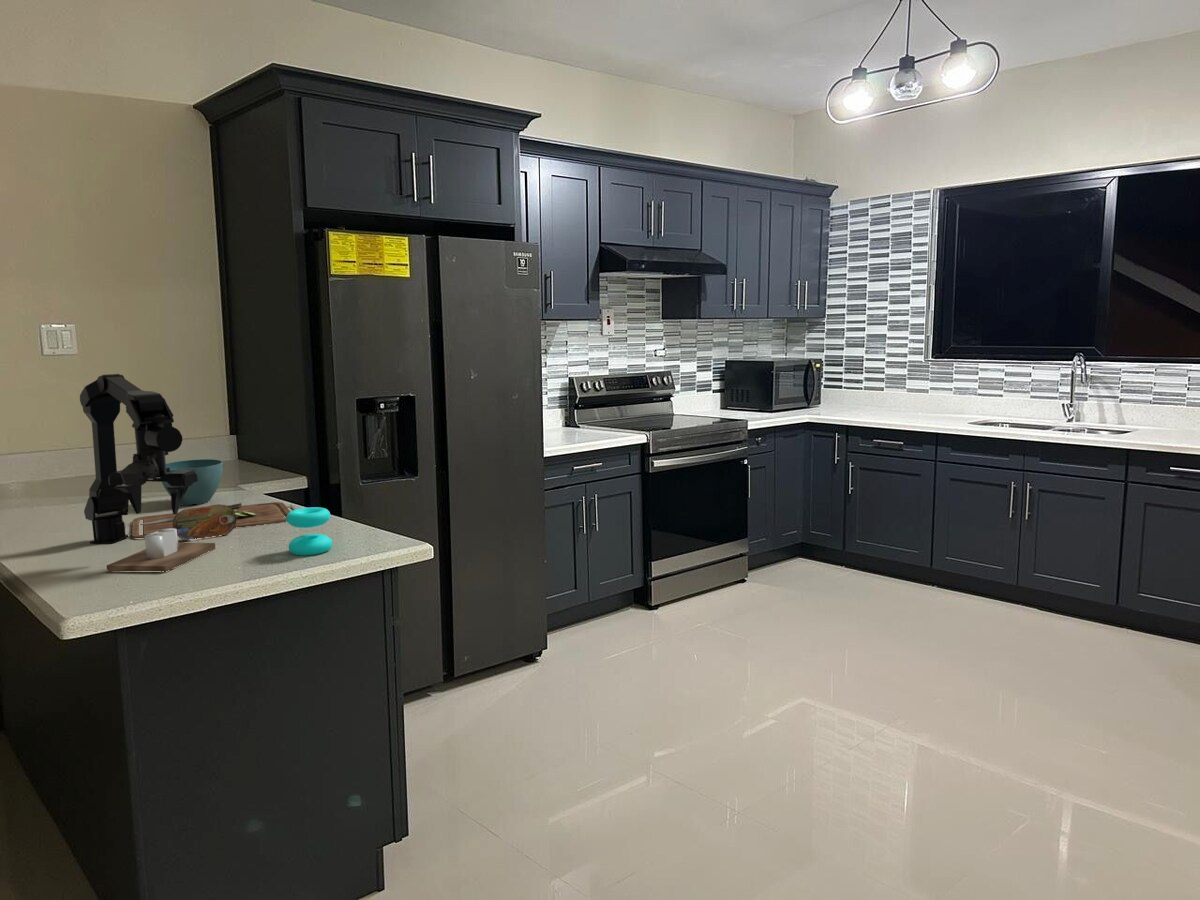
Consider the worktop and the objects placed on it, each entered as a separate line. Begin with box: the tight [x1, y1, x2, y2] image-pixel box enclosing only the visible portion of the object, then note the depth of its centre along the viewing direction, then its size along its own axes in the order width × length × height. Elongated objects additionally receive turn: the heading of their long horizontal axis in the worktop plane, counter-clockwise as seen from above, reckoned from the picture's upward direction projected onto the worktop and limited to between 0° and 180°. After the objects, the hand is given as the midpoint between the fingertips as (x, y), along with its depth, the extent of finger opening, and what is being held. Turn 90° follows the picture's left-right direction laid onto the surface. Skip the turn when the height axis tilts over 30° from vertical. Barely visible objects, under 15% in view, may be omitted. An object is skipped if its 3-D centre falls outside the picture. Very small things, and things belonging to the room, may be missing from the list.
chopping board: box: [124, 501, 297, 539], centre depth 241 cm, size 45×27×3 cm, turn 118°
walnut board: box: [106, 542, 216, 573], centre depth 201 cm, size 14×20×2 cm
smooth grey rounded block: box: [143, 528, 179, 559], centre depth 200 cm, size 4×9×5 cm, turn 173°
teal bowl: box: [161, 458, 224, 506], centre depth 265 cm, size 18×18×12 cm
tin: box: [173, 503, 237, 541], centre depth 221 cm, size 15×3×8 cm, turn 126°
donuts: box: [286, 506, 333, 556], centre depth 205 cm, size 10×10×10 cm
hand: (156, 513), depth 201 cm, fingers open, 9 cm apart
